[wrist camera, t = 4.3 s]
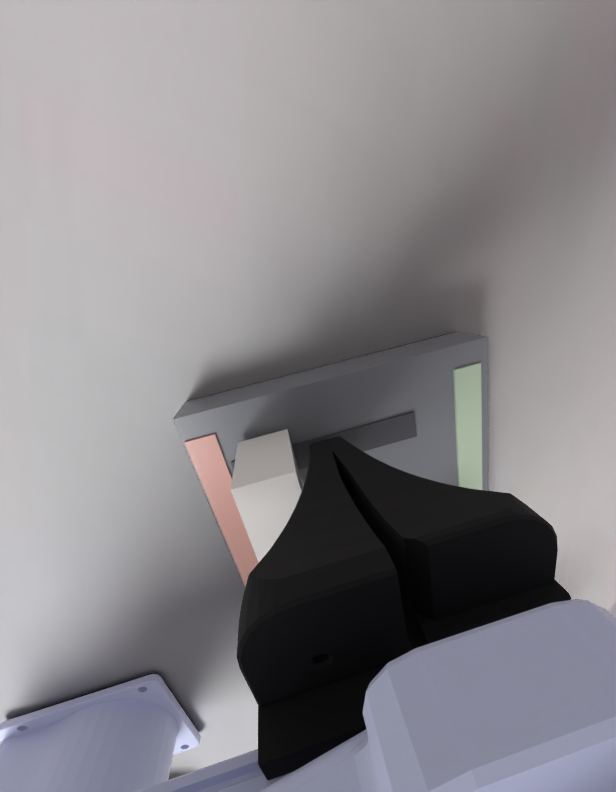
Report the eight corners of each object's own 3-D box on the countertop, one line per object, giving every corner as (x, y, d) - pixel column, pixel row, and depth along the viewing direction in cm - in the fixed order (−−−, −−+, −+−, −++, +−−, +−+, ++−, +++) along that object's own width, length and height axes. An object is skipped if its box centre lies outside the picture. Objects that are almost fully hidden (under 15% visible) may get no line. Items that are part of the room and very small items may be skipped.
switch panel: (298, 683, 21) (302, 724, 19) (185, 401, 13) (171, 420, 11) (468, 626, 21) (489, 659, 19) (457, 331, 14) (489, 337, 12)
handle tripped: (259, 502, 12) (258, 562, 10) (238, 442, 11) (230, 489, 9) (304, 489, 13) (316, 544, 10) (287, 429, 12) (296, 471, 9)
